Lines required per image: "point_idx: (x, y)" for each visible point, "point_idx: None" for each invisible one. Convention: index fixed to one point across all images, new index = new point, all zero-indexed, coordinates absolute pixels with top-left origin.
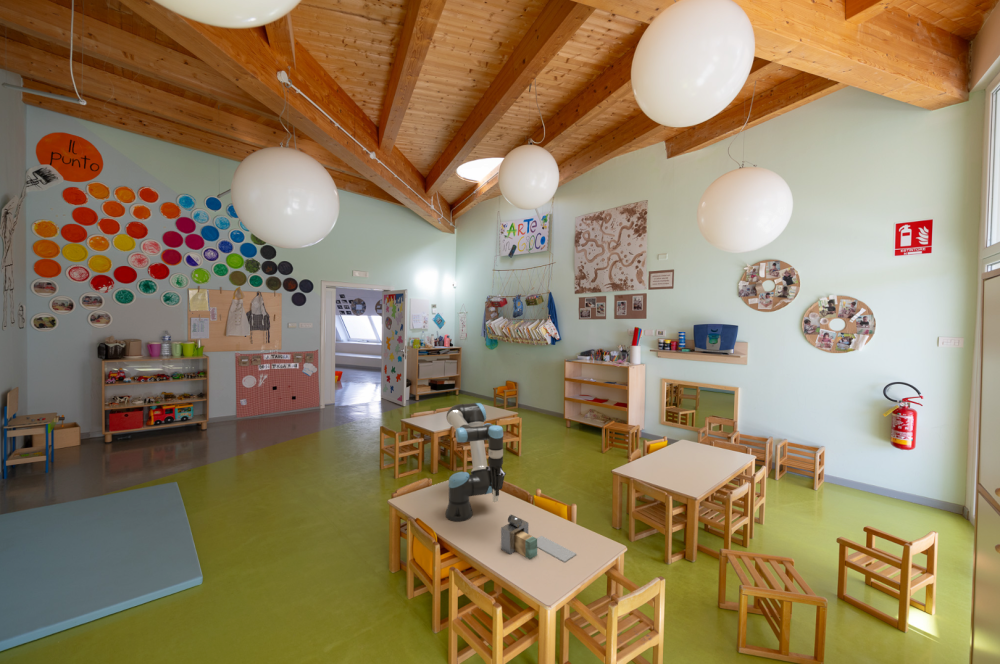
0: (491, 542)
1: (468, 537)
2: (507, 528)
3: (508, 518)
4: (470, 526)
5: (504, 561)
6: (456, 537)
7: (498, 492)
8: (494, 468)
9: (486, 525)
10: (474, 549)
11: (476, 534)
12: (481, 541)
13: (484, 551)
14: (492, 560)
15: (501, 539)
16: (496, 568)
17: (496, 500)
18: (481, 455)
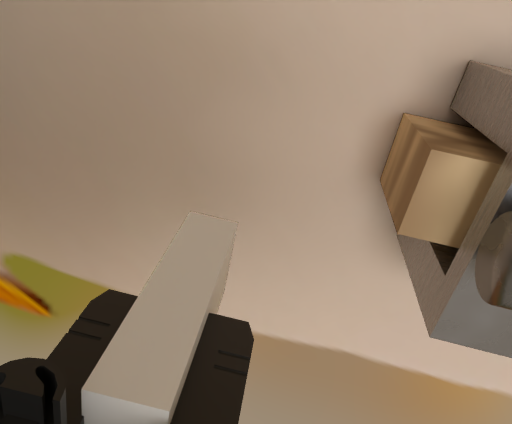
0: (297, 198)
1: (147, 223)
2: (495, 329)
3: (494, 304)
4: (55, 112)
5: None
6: (98, 255)
7: (241, 399)
8: None
9: (124, 29)
10: (257, 297)
11: (159, 172)
12: (238, 220)
13: (316, 289)
14: (400, 330)
15: (411, 273)
16: (453, 369)
17: (227, 269)
18: None
